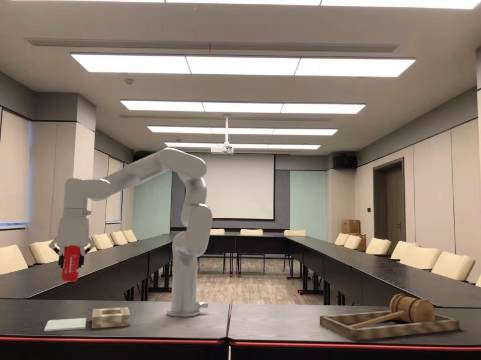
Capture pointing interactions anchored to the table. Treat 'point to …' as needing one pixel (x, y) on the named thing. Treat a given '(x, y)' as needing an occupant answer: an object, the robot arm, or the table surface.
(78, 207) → the robot arm
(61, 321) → the coaster board
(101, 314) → the can holder
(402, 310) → the mallet
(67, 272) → the beverage can
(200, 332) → the table surface
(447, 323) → the gavel rest frame
